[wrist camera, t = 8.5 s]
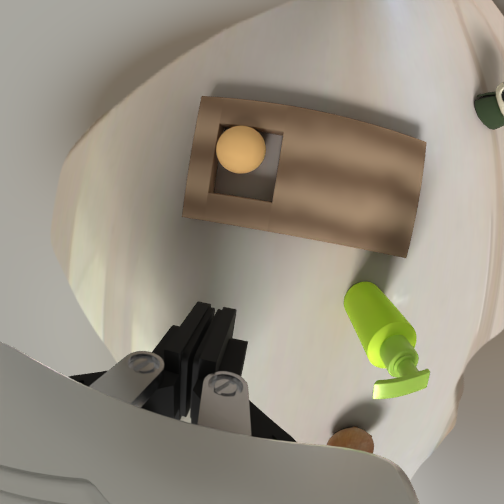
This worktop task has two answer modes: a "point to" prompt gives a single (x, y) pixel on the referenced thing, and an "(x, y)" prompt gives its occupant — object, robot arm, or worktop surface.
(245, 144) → the ball
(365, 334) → the soap dispenser
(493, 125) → the character mug
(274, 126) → the board
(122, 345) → the worktop surface
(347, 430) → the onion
